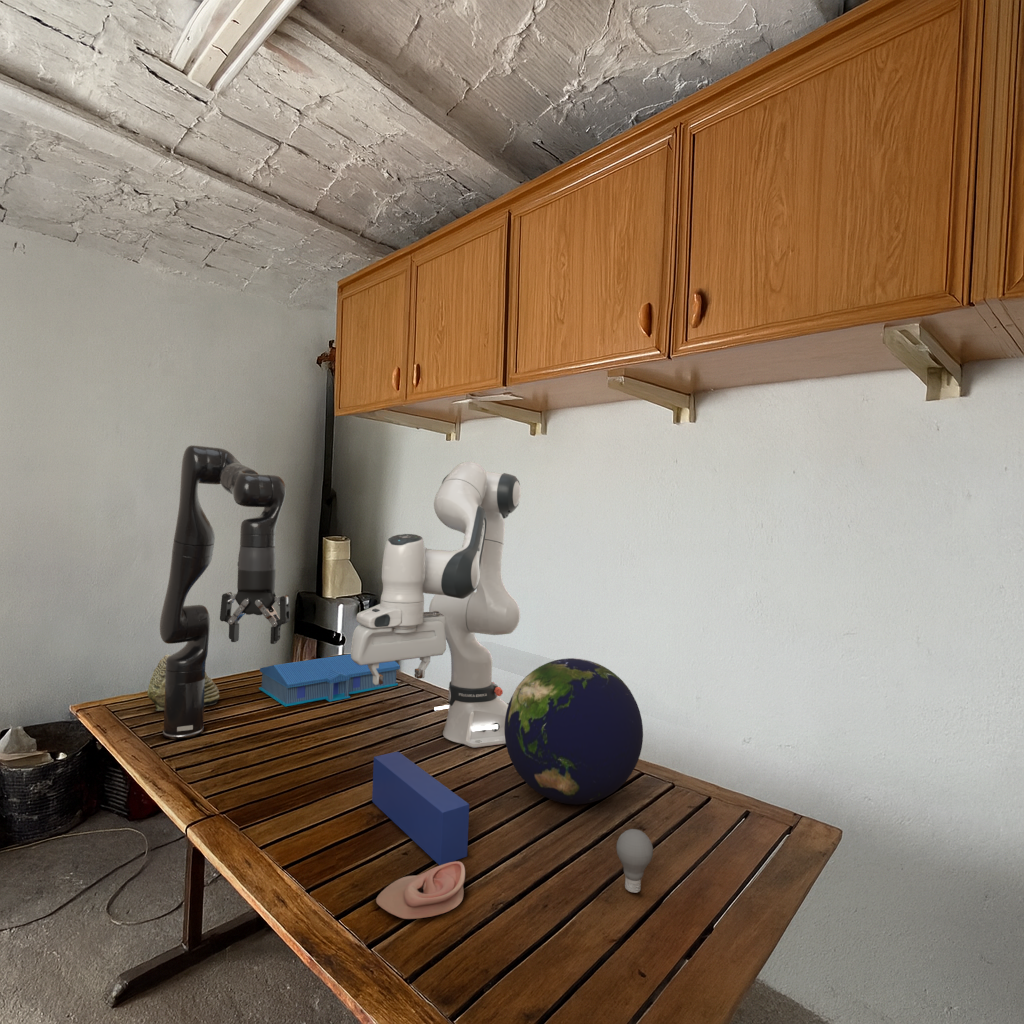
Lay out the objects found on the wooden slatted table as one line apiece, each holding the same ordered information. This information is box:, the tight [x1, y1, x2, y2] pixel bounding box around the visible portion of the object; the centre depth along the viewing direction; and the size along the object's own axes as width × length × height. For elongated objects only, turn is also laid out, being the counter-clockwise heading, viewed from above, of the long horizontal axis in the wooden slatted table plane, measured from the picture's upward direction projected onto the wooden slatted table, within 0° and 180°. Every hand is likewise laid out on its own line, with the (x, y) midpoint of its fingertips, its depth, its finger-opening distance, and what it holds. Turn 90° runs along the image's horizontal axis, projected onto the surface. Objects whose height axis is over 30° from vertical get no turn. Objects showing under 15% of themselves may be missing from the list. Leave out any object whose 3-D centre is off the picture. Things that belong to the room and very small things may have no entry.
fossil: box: [147, 654, 221, 712], centre depth 185 cm, size 9×18×15 cm, turn 132°
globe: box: [504, 657, 644, 805], centre depth 138 cm, size 30×30×30 cm
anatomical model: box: [375, 860, 466, 920], centre depth 101 cm, size 13×4×12 cm
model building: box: [258, 653, 401, 707], centre depth 208 cm, size 39×24×10 cm, turn 132°
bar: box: [371, 751, 470, 866], centre depth 123 cm, size 28×6×10 cm, turn 37°
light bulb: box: [615, 828, 654, 894], centre depth 106 cm, size 6×6×10 cm
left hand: (254, 642), depth 136 cm, fingers open, 8 cm apart
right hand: (399, 680), depth 130 cm, fingers open, 8 cm apart
